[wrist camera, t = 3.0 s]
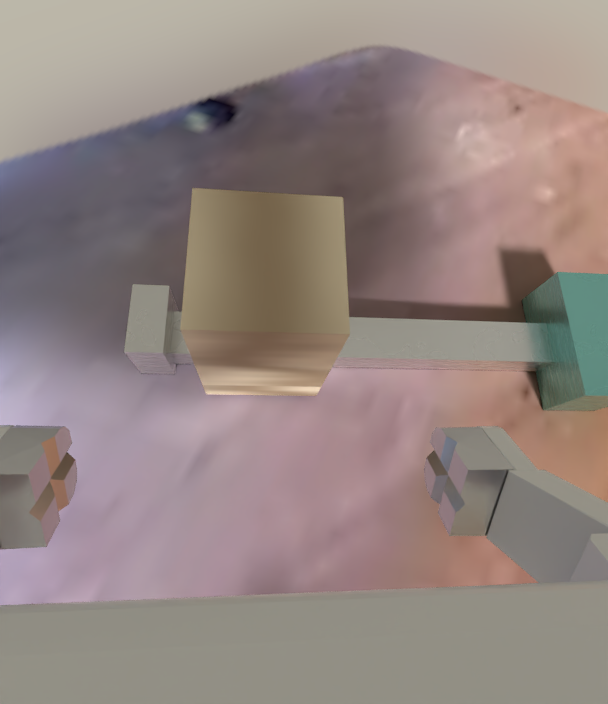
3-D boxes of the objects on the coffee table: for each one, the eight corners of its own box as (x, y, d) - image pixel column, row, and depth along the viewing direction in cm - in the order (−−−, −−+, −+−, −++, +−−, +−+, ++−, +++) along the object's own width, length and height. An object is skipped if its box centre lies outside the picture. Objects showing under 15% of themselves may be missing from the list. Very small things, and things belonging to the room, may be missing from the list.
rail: (568, 301, 24) (609, 274, 21) (594, 410, 22) (643, 396, 19) (151, 285, 22) (136, 252, 19) (137, 405, 20) (119, 388, 17)
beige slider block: (313, 298, 22) (343, 197, 15) (316, 395, 21) (350, 334, 13) (212, 294, 22) (192, 187, 15) (206, 394, 20) (179, 329, 13)
